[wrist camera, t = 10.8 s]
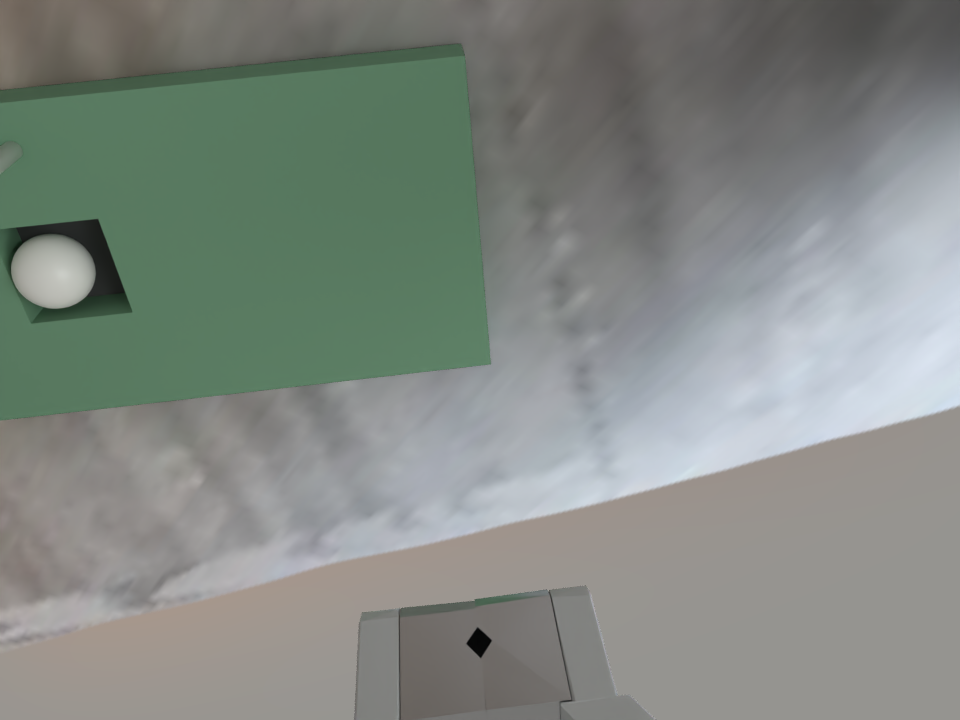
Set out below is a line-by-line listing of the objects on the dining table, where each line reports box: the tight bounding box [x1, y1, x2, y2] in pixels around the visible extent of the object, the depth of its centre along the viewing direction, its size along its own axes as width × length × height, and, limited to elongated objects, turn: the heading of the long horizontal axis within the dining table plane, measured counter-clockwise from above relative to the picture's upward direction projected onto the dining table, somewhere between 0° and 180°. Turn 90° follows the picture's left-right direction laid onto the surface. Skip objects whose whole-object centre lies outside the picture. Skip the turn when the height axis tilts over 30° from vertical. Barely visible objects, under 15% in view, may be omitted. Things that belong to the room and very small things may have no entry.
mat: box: [0, 44, 491, 420], centre depth 33 cm, size 28×16×16 cm, turn 94°
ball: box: [11, 234, 96, 309], centre depth 38 cm, size 4×4×4 cm
